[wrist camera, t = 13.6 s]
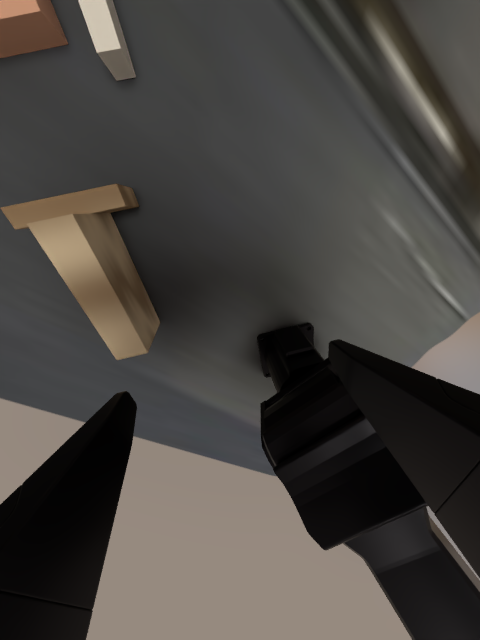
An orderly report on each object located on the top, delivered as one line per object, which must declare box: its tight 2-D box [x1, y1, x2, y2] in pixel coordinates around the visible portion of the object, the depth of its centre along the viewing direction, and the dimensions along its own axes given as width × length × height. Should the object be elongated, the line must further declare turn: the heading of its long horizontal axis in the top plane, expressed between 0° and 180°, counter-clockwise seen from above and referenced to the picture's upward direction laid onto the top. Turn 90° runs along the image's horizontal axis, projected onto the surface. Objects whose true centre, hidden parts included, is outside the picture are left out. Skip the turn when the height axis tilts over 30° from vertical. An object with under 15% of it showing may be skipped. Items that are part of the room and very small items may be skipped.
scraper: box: [1, 184, 160, 360], centre depth 15 cm, size 11×7×5 cm, turn 11°
